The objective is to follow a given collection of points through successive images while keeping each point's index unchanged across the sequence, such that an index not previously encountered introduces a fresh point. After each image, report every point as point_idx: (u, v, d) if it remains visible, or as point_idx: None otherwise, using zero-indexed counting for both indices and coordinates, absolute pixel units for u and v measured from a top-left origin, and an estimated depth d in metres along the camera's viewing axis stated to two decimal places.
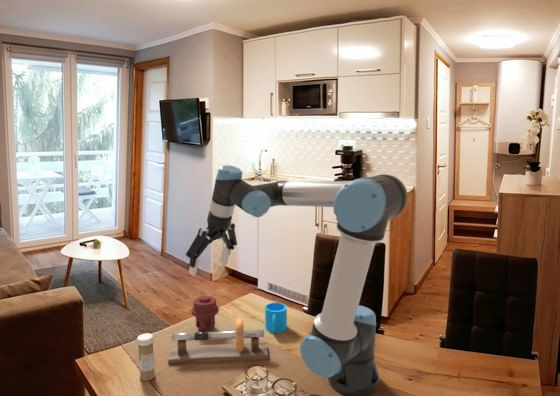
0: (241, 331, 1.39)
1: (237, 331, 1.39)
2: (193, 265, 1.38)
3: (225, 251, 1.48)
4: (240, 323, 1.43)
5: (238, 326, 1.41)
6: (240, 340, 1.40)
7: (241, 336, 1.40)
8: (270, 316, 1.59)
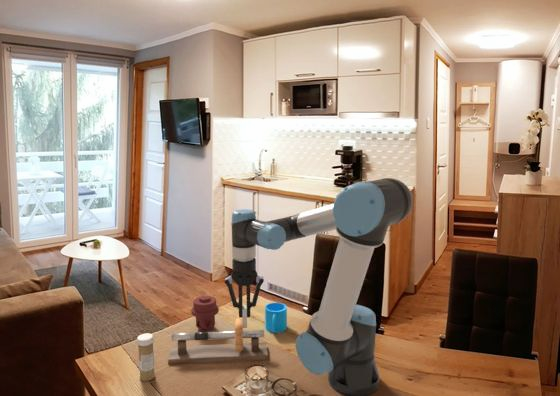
0: (240, 331, 1.39)
1: (236, 331, 1.39)
2: (240, 315, 1.42)
3: None
4: (239, 323, 1.43)
5: (237, 326, 1.41)
6: (239, 340, 1.40)
7: (240, 336, 1.40)
8: (270, 316, 1.59)
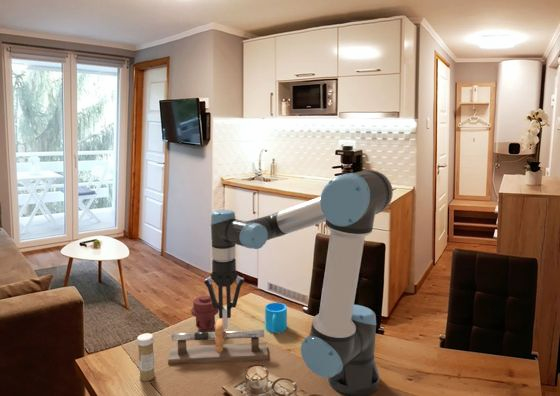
0: (220, 332, 1.39)
1: (216, 332, 1.39)
2: (220, 316, 1.41)
3: None
4: (220, 324, 1.42)
5: (217, 327, 1.40)
6: (219, 341, 1.39)
7: (220, 337, 1.39)
8: (270, 316, 1.59)
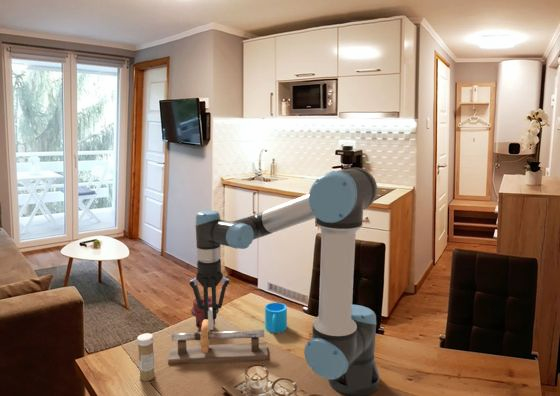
0: (205, 332, 1.38)
1: (201, 332, 1.38)
2: (206, 317, 1.41)
3: None
4: (205, 324, 1.42)
5: (203, 327, 1.40)
6: (204, 342, 1.39)
7: (205, 337, 1.39)
8: (270, 316, 1.59)
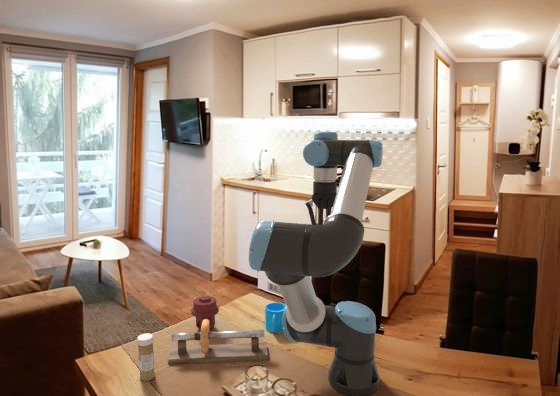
0: (205, 332, 1.38)
1: (201, 332, 1.38)
2: None
3: None
4: (205, 324, 1.42)
5: (203, 327, 1.40)
6: (204, 342, 1.39)
7: (205, 337, 1.39)
8: (270, 316, 1.59)
